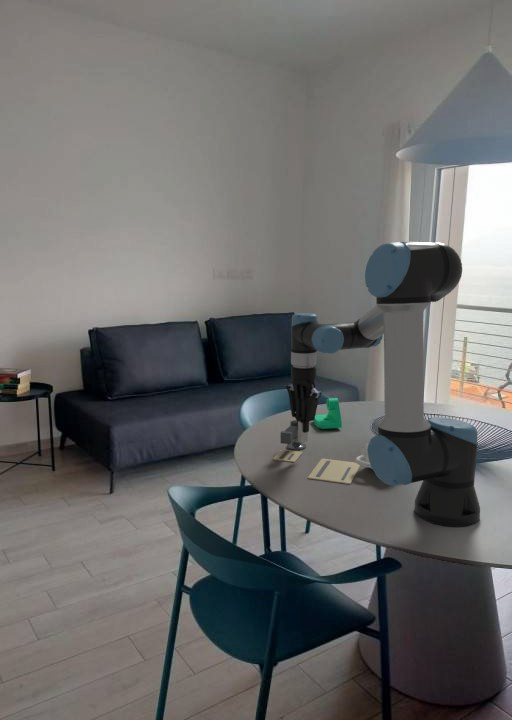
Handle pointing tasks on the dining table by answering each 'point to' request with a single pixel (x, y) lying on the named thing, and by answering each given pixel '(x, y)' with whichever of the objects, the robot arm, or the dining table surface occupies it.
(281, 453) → the label card
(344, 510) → the dining table surface
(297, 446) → the grey mushroom knob
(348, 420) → the dining table surface
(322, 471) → the label card
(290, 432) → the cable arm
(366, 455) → the mug
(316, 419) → the camera mount
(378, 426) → the robot arm
